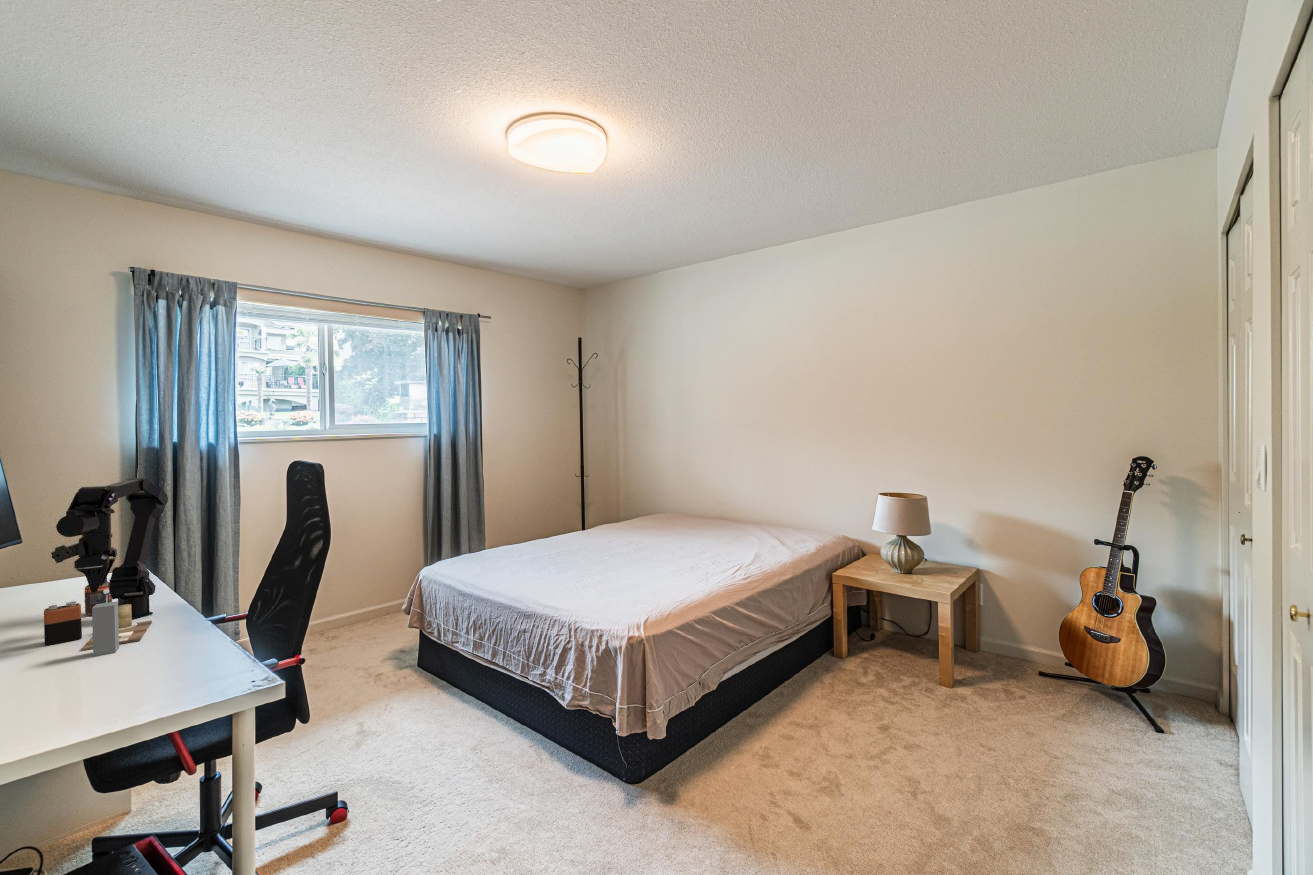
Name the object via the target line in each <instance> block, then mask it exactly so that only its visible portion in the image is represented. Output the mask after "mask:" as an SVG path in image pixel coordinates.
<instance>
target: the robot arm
mask: <svg viewBox="0 0 1313 875" xmlns="http://www.w3.org/2000/svg"><path fill="white" fill-rule="evenodd" d="M123 497H125V500H126V501H127V502H128V503H129V504H130V506H129V509H130V511H131V513H132V514H133V517H134V519H133V521H132V522H133V523H132V526H131V530H130V534H129V537H128V538H129V540H128V543H127V546H126V551H125V555H124V559H123V563H122V564H120V565H119V566H116V567H113V565H114V563H115V562H116V559H117V556H118V550H117V549H116V548H115V547H113V546H112V538H113V533H112V514H115V512H116V511H115V509H113V508H111V507H112V506H113V505H115V504H117V503H118V502H119V499H121V498H123ZM168 502H169V496H168V495H167V492H165V490H164V489H163V488H162V487H161V486H158V485H157V484H154V483H152V482H151V481H150V480H149V479H148V478H144V477H135V478H134V477H133V478H128V479H124V480H122V481H118V482H114V483H112V484H108V485H103V486H101V485H100V486H99V485H98V486H81V487H79V489H78V491H77V492H75V494H74V497H73V498H72V501H71V502H70V504H69V507H68V509H67V511H66V512H65V516H64V515H63V517H61V518H60V519H59V520H58V521H57V523H56V526H55V528H56V531H57V533H58V534H59V535H60V536H62V537H65V538H74V537H79V536H81V537H80V538H78V542H76V543H73V544H71V545H67V546H66V545H65V544H62V545H60V546H57V547H55V548H54V550H52V552H50V555H51V559H53V560H54V562H55V563H56V564H59V563H62V562H64V561H65V560H69V559H71V558H74V557H77V556H78V558H77V559H76V560H74V566H73V567H74V569H75V570H76V572H80V573H82V574H84V576H85V578H86V579H85V580H86V581H87V583H88V584H87V585H89V587H90V590H91V592H97V590H98V588H99V586H102V585H103V583H104V581H105V579H106V577H107V578H108V575H109V573H110V571H111V569H112V567H113V569H112V571H111V576H110V579H109V580H108V582H109V585H108V587H109V591H110V594H111V598H112V600H117V601H118V606H121V605H127V604H131V611H132V620H135V619H138V618H143V617H145V616H150V615H154V612H153V611H151V609H150V596H153V595H154V594H155V592H156V585H155V583H154V582H153V581H152V580H151V579H150V572H149V569H148V568H147V566H146V560H147V555H148V551H149V547H150V543H151V539H152V534H153V529H154V526H155V520H156V519H158V517H159V516H160V515H161V514H162V513H163V512H165V509H166V505H167V504H168Z"/></svg>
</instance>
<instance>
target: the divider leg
mask: <svg viewBox="0 0 1313 875" xmlns="http://www.w3.org/2000/svg"><path fill="white" fill-rule="evenodd" d="M91 618H92V622H91V624H92V637H93V649H92V650H93V651H92V654H93V657H99V656H105V655H111V654H116V653H117V651H119V649H120V645H119V625H118V600H117V601H112V602H110V603H102V604H96V605H95V606H94V607H93V608H92V616H91Z"/></svg>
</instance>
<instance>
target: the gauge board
mask: <svg viewBox="0 0 1313 875" xmlns="http://www.w3.org/2000/svg"><path fill="white" fill-rule="evenodd" d="M152 623H153V620H145V621H140V622H133V619H132V611H131V604H127V605H121V606H118V625H119V646H121V645H126V644H132V643H138V642H140V641H141V640H142V639H143V637H144V636H145V634H146V633H147V631H148V629H149V628H150V626H151V625H152ZM80 649H81V652H83V651H90V650H93V636H91V637H90V639H89V640H88V641H87V642H86V643H85V644H84V645H83V646H82V647H81V648H80Z"/></svg>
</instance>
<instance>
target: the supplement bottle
mask: <svg viewBox="0 0 1313 875" xmlns="http://www.w3.org/2000/svg"><path fill="white" fill-rule="evenodd" d="M109 582H110V581H109V580H108V576H107V577H106V579H105V581H104V583H103V585H102V586H99V588H98V590H97V592H91V590H90V587H89V584H87V585H86V586H85V587H84V612H85V615H86V616H87V617H92V608H93V607H94V606H95V605H96V604H102V603H110V602H113V599H112V598H111V594H110V591H109V587H108V585H109Z"/></svg>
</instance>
